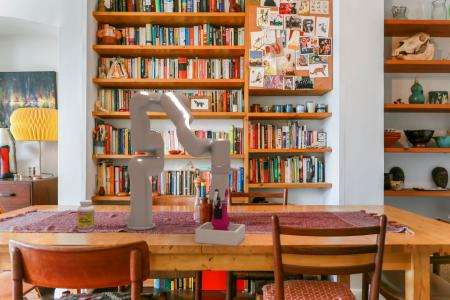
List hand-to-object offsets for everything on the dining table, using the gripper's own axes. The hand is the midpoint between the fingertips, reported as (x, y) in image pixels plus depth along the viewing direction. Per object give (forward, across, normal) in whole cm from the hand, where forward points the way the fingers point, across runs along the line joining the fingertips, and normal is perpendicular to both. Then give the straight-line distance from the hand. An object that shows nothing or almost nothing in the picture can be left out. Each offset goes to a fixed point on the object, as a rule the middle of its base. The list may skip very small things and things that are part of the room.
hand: (220, 216), depth 140 cm
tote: (+9, 0, 0) cm, 9 cm away
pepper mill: (+7, 0, 0) cm, 7 cm away
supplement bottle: (+9, +3, -59) cm, 60 cm away
